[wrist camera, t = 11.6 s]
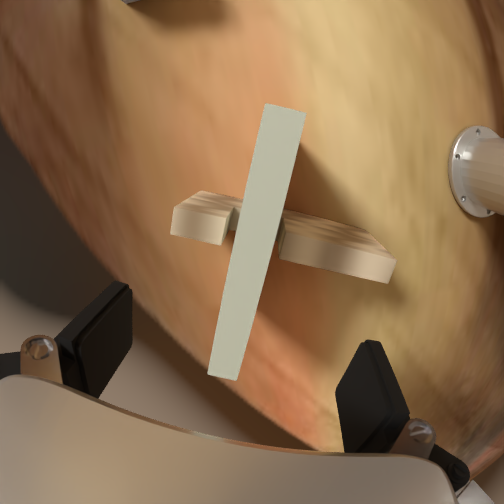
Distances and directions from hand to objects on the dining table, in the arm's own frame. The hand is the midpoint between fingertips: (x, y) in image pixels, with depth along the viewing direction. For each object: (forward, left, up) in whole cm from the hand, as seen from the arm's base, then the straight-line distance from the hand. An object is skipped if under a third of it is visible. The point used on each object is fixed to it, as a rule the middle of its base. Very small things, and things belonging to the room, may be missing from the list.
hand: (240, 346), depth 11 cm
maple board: (-3, 0, -24) cm, 24 cm away
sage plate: (0, 0, -24) cm, 24 cm away
